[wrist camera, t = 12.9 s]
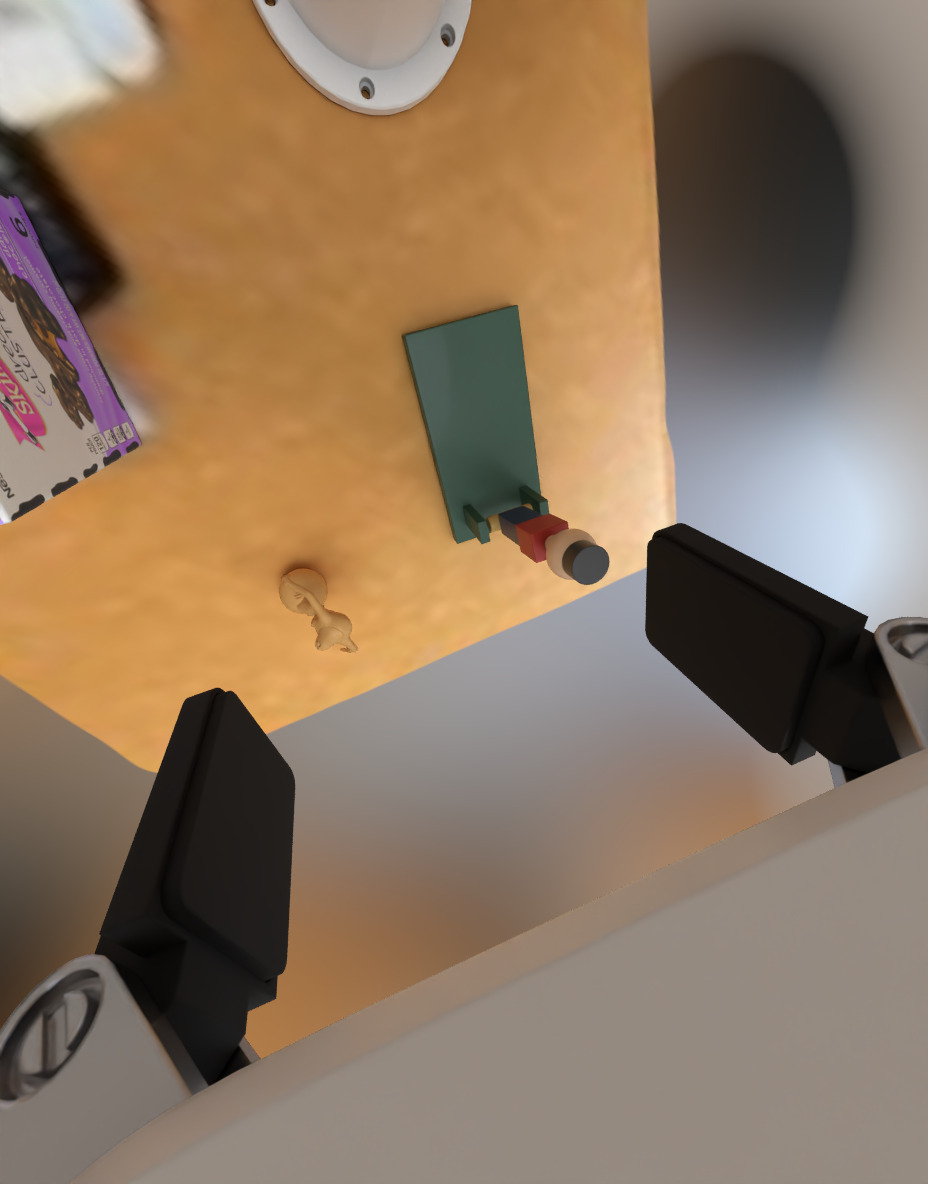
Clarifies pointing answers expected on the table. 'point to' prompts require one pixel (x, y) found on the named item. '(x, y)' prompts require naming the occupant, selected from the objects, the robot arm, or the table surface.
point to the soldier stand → (477, 417)
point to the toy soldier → (553, 543)
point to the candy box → (47, 379)
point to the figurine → (316, 608)
